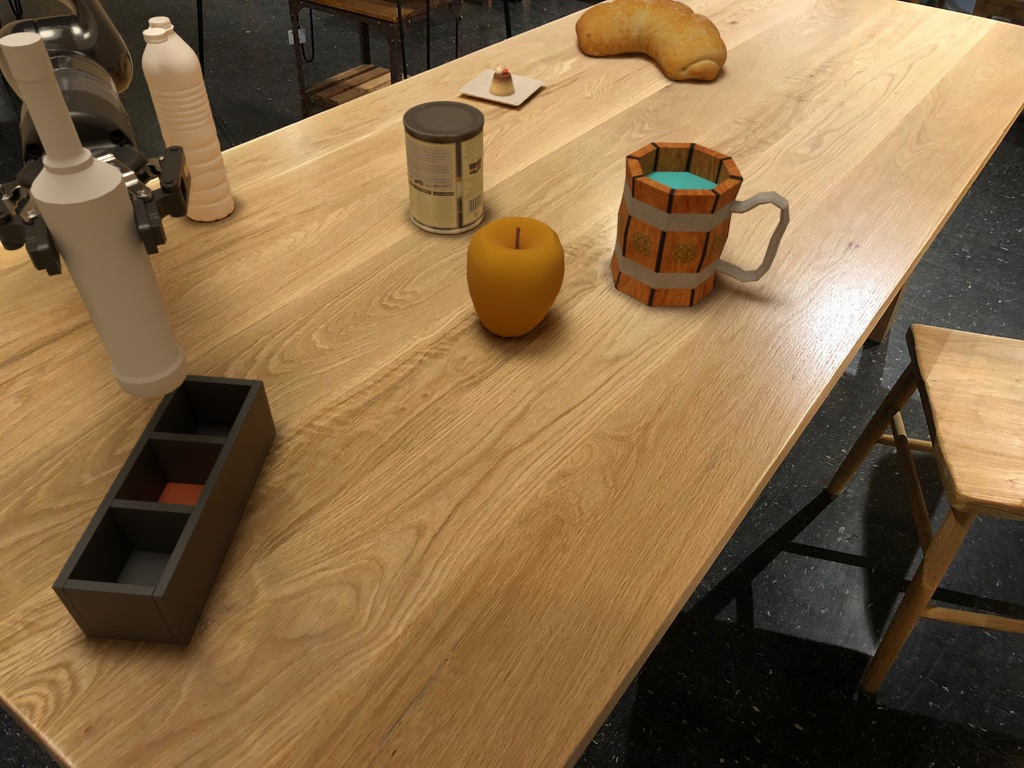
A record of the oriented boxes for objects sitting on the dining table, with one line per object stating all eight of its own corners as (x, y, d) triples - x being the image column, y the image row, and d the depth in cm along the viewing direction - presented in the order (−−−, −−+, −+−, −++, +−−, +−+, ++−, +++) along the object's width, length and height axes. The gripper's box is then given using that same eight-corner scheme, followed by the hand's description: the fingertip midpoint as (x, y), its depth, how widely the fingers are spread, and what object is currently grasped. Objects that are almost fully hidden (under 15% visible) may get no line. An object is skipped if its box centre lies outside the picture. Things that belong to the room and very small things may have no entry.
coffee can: (418, 193, 110) (412, 97, 101) (488, 199, 110) (489, 103, 100) (401, 231, 103) (394, 131, 93) (477, 238, 102) (477, 138, 92)
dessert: (545, 87, 140) (547, 60, 136) (518, 111, 132) (519, 83, 128) (487, 74, 143) (487, 48, 140) (456, 97, 135) (456, 70, 132)
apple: (553, 360, 85) (562, 263, 76) (457, 348, 86) (455, 250, 77) (564, 301, 92) (573, 207, 84) (476, 290, 94) (476, 196, 85)
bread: (746, 61, 152) (758, 7, 145) (700, 91, 140) (712, 35, 134) (608, 23, 166) (614, -27, 159) (556, 48, 154) (560, -5, 147)
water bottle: (187, 200, 107) (132, 10, 90) (236, 196, 108) (190, 8, 91) (182, 233, 101) (121, 36, 84) (233, 229, 102) (184, 33, 85)
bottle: (181, 400, 57) (53, 58, 39) (109, 402, 56) (-53, 57, 39) (197, 353, 60) (86, 22, 43) (129, 355, 60) (-11, 21, 43)
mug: (595, 293, 94) (610, 182, 84) (622, 238, 103) (639, 132, 93) (757, 332, 89) (794, 220, 79) (770, 270, 99) (804, 163, 88)
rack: (85, 636, 59) (51, 587, 54) (196, 425, 76) (177, 373, 71) (187, 645, 59) (162, 597, 54) (276, 431, 75) (262, 380, 71)
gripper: (189, 164, 64) (230, 275, 53) (-5, 199, 59) (-4, 328, 48) (164, 74, 58) (204, 176, 48) (-52, 103, 54) (-62, 225, 43)
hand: (99, 252), depth 48 cm, fingers closed on bottle, 5 cm apart
